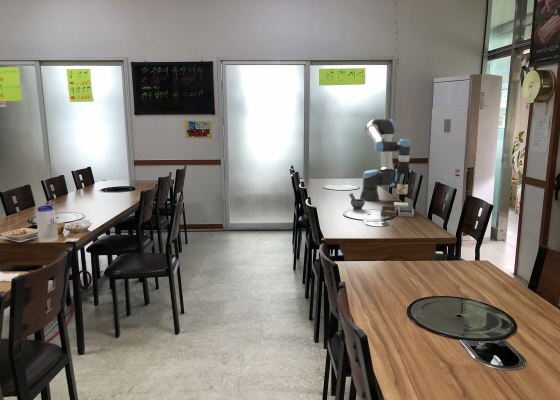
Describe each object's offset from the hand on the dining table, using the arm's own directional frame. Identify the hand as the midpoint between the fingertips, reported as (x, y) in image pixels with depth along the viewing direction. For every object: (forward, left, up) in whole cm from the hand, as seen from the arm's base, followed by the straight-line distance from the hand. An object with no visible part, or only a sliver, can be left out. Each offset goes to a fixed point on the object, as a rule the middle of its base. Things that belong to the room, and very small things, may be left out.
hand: (401, 193), depth 327 cm
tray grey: (+16, +3, -12) cm, 20 cm away
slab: (0, 0, -12) cm, 12 cm away
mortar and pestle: (+13, -31, -12) cm, 36 cm away
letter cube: (0, 0, 0) cm, 0 cm away
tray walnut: (+16, -9, -12) cm, 21 cm away
